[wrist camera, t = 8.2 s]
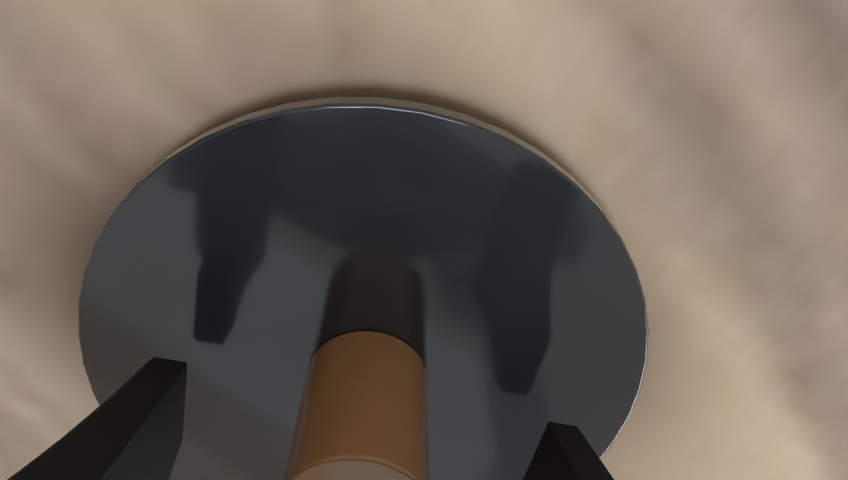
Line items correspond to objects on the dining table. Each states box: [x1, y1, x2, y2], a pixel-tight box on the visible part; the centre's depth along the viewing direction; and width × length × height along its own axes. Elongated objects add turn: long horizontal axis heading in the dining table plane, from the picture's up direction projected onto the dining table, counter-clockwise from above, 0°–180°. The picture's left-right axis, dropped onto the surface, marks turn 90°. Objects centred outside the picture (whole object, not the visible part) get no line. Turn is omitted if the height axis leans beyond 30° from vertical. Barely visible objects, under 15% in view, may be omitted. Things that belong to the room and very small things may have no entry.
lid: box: [79, 97, 648, 480], centre depth 13 cm, size 12×12×4 cm
